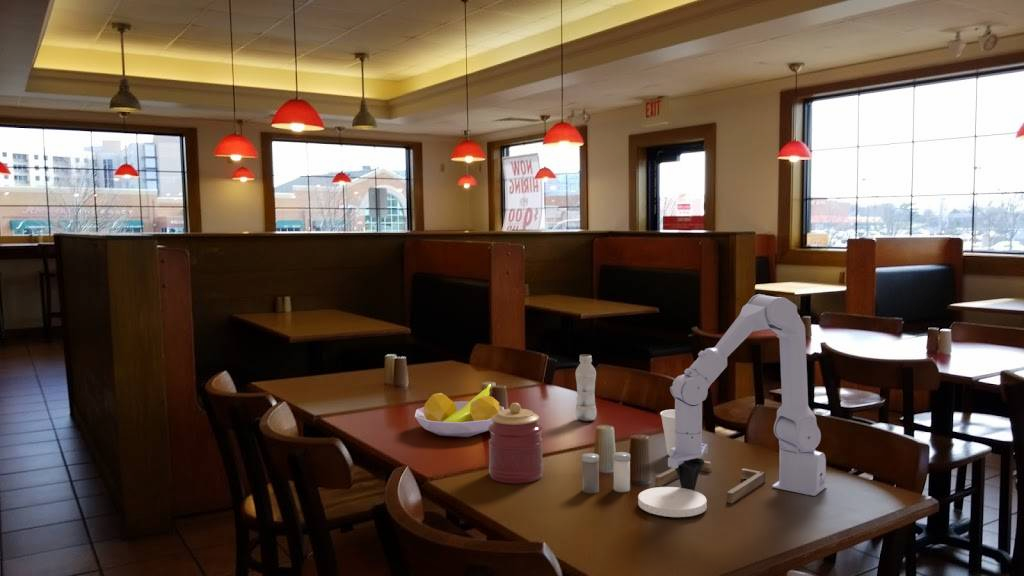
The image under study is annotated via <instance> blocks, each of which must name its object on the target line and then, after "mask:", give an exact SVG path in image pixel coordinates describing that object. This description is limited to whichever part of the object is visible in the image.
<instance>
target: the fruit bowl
mask: <svg viewBox="0 0 1024 576" xmlns="http://www.w3.org/2000/svg"><path fill="white" fill-rule="evenodd" d="M491 388H492V384H491V383H488V384H487V387H486V388H484V390H481V392H479V393H478V394H477V395H475V396H474V397H473V398H472V399H471V400H470V401H462V400H461V401H453V400H451V398H449V397H448V396H447V395H446V394H444V393H442V392H438V393H434V394H432V395H431V396H430V397H429V398H428V400H427V401H426V402H425V403H424V406H423V407H421V408H417V409H416V410H415V414H414V417H415V419H416V420H417V422H418V423H419V425H420V426H421V427H422V428H424V430H426V431H429V432H431V433H434V434H435V435H437V436H440V437H441V436H442V437H444V436H445V437H457V438H470V437H472V436H473V437H474V436H475V435H479V434H482V433H485V432H489V430H488V427H489V425H491V424H492V423H493V420H492V416H493V415H495V414H497V413H498V412H499V411H501V410H505V407H504V406H501V405H500V402H499V401H498V400H497V399H495V398H494V397H493V396H490V393H491V392H490V389H491Z"/></svg>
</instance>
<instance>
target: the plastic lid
mask: <svg viewBox="0 0 1024 576" xmlns="http://www.w3.org/2000/svg"><path fill="white" fill-rule="evenodd" d="M637 499H638V501H637V503H638V505H637V506H638V507H639V508H640V509H641V510H643V511H645V512H647V513H648V514H653V515H656V516H661V517H669V518H682V517H683V518H685V517H686V518H687V517H694V516H698V515H700V514H702V513H704V512H705V511H707V507H708V506H707V504H708V503H707V501H708V500H707V498H706V496H705V495H704V494H703V493H701V492H700V491H696V490H694V491H693V490H690V489H685V488H681V487H678V486H677V487H676V486H661V487H657V486H655V487H651V488H647V489H644V490H643V491H641V492H639V494H638V496H637Z"/></svg>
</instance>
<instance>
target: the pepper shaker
mask: <svg viewBox="0 0 1024 576" xmlns="http://www.w3.org/2000/svg"><path fill="white" fill-rule="evenodd" d="M581 460H582V492H583V493H586V494H592V495H593V494H597V493H599V492H600V487H599V486H600V480H599V479H600V478H599V477H600V473H599V472H600V464H599V463H600V455H599V454H597V453H593V452H592V453H591V452H590V453H589V452H587V453H583V454H581Z"/></svg>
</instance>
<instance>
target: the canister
mask: <svg viewBox="0 0 1024 576" xmlns="http://www.w3.org/2000/svg"><path fill="white" fill-rule="evenodd" d="M492 420H493V423H492V424H491V425H489V427H488V432H490V438H489V439H488V452H489V453H488V455H489V456H488V457H489V459H488V460H489V461H488V462H489V465H488V473H489V477H490V478H491V479H492V480H493V481H496V482H498V483H504V484H515V485H517V484H527V483H532V482H535V481H537V480H538V481H539V480H540V479H541V478H542V477H543V472H544V463H543V443H544V440H543V438H542V435H541V432H542V431H543V429H544V427H543V425H542V424H541V423H540V422H539V420H540V416H539V415H538V414H537V413H534V412H533V411H532V410H530V409H525V408H522V407H521V404H520V403H518V402H512V403H511V404H510V406H509V408H506V409H505V408H504V410H501V411H499V412H498V413H497V414H495V415H493V416H492Z"/></svg>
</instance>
